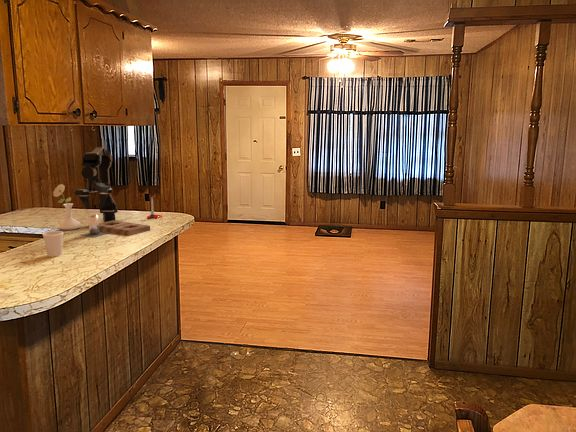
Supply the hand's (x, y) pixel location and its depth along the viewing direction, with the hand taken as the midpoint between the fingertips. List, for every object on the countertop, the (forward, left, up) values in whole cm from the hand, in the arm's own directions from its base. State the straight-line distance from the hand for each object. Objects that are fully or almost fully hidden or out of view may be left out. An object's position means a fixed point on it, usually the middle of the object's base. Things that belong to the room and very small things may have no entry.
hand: (95, 208), depth 246 cm
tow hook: (-8, +49, -14) cm, 52 cm away
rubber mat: (-1, -1, -14) cm, 14 cm away
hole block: (+3, +13, -14) cm, 20 cm away
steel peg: (-1, -1, -13) cm, 13 cm away
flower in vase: (-24, +1, -14) cm, 28 cm away
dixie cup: (+15, -35, -14) cm, 40 cm away
